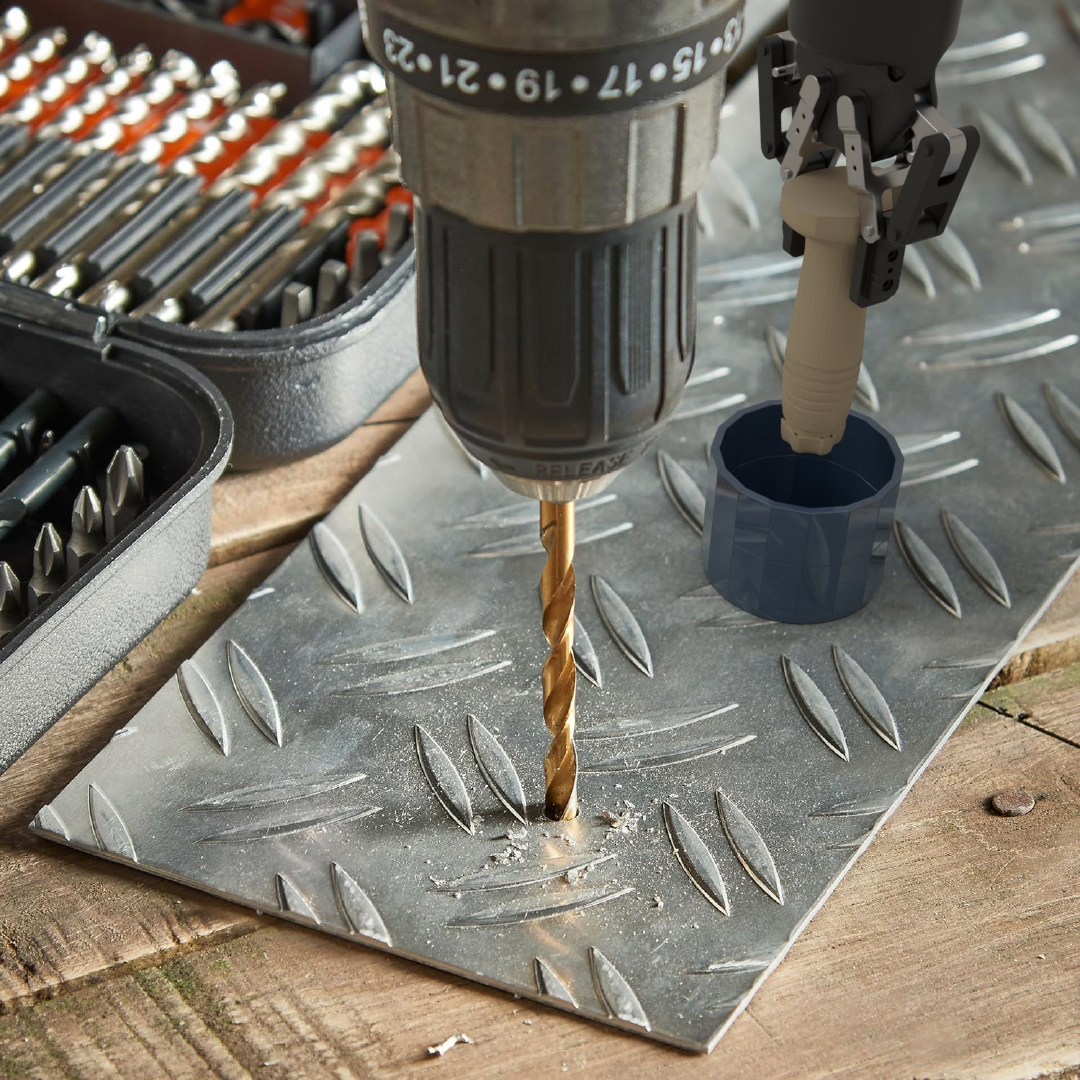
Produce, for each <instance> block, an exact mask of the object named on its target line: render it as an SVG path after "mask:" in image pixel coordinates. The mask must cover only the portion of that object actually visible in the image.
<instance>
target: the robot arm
mask: <svg viewBox="0 0 1080 1080" xmlns="http://www.w3.org/2000/svg"><path fill="white" fill-rule="evenodd" d="M788 2H789V3H788V11H787V27H788V30H786V31H782V32H781V31H780V32H777V33H774V34H771V35H766V36H763V37H760V38H759V39H758V41H757V44H756V60H757V61H756V62H757V83H758V108H759V109H758V110H759V111H758V112H759V134H760V135H759V136H760V137H759V138H760V149H761V153H762V155H763V157H764V158H765V159H766V160H768V161H769V160H774V159H775V160H776V161H777V162H778V163H779V165H780V168H779V174H780V178H781V181H782V183H784V185H785V184H786V183H788V182H789V181H791V180H793V179H794V178H796V177H798V176H800V175H802V174H804V173H807V172H811V171H815V170H820V169H825V168H830V167H837V164H838V161H839V159H840V157H841V155H843V156H844V158H845V166H846V167H847V179H848V187H849V189H850V190H851V191H852V192H854V193H856V194H857V196H858V203H859V215H860V226H861V233H862V235H861V236H858V241H857V247H856V254H855V261H854V267H853V274H852V280H851V287H850V293H849V299H850V300H851V301H852V302H853V303H855V304H856V305H857V306H859V307H860V308H866V307H867V308H868V307H869V308H870V307H872V306H875V305H878V304H881V303H885V302H887V301H888V300H890V299H891V298H892V297H893V296H895V295H896V293H897V292H898V290H899V288H900V281H901V276H902V270H903V264H904V259H905V254H906V248H907V246H909V245H912V244H913V245H914V244H915V243H920V242H922V241H925V240H929V239H932V238H936V237H939V236H942V235H943V234H944V232H945V230H946V229H947V226H948V223H949V220H950V218H951V216H952V213H953V211H954V209H955V206H956V205H957V201H958V199H959V197H960V194H961V192H962V189H963V187H964V185H965V183H966V179H967V178H968V175H969V173H970V170H971V168H972V165H973V163H974V161H975V158H976V156H977V153H978V151H979V149H980V146H981V135H980V133H979V130H978V129H977V128H976V127H975V126H974V125H972V124H968V125H967V124H966V125H963V126H959V127H955V126H954V125H953V124H952V123H950V122H949V120H947V119H946V118H945V117H944V116H943V114H941V113H940V112H939V110H938V104H939V96H938V90H937V83H936V82H937V81H936V71H937V67H938V65H939V63H940V62H941V60H942V58H943V57H944V56H945V54H946V53H947V51H948V50H949V49H950V47H951V46H952V45H953V43H954V42H955V41H956V39H957V35H958V32H959V25H960V20H961V14H962V9H963V3H964V0H789V1H788ZM789 108H791V121H790V124H789V127H788V129H787V130H784V131H782V129H783V127H782V113H783V112H784V110H785V109H789ZM894 157H895V160H894V162H893V163H892V164H891V165H890V166H888V167H882V168H883V169H879V170H876V171H873V170H872V166H873V165H872V164H873V163H877V162H881V161H885V160H889V159H892V158H894ZM890 188H891V190H892V203H893V210H892V211H889V212H885V213H883V202H882V195H883V192H884V191H885V190H887V189H890ZM781 230H782V245H781V246H782V250H783V251H784V252H786V253H787V254H788V255H789V256H791V257H792V258H799V257H804V252H805V240H806V237H804V236H803V235H801V234H799V233H798V232H796V231H795V230H794V229H792V228H791V227H790V226H789V225H788V224H787V223H786V222H785V221H784V220H783V219H782V225H781Z"/></svg>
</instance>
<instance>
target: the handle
mask: <svg viewBox="0 0 1080 1080" xmlns="http://www.w3.org/2000/svg"><path fill="white" fill-rule="evenodd" d="M883 168H884V167H881V166H880V167H879V166H873V165H872V170H873V171H876V170H879V169H883ZM882 202H883V213H885V212H889V211H892V210H893V203H892V190H891V188H890V189H887V190H885V191H884V192H883V195H882ZM779 212H780V213H779V214H780V216H781V219H782V221H783V220H784V221H785V222H786V223H787V224H788V225H789V226H790V227H791V228H792V229H794V230H795V231H796V232H798V233H799V234H801V235H803V236H804V237H806V240H805V252H804V255H803V256H802V257H803V258H802V262H801V269H800V273H799V279H798V284H797V289H796V294H795V300H794V304H793V308H792V309H793V310H792V314H791V319H790V324H789V329H788V333H787V338H786V344H785V349H784V360H783V365H782V382H781V399H782V408H783V415H784V417H785V418H781V434H782V438H783V440H784V441H787V442H788V443H789V444H790V445H791V446H792V450H793V451H795V452H797V453H804V452H807V453H815V454H818V455H825V454H827V453H829V452H830V451H831V449H832V446H833V445H834V444H836V443H839V442H840V441H841V438H842V436H843V433H844V430H845V426H846V422H845V421H846V419H847V416H848V413H849V411H850V409H851V407H852V404H853V401H854V398H855V393H856V389H857V385H858V381H859V377H860V372H861V365H862V359H863V354H864V353H863V352H864V342H865V332H866V322H867V309H868V307H866V308H860V307H859V306H857V305H856V304H855V303H853V302H852V301H851V300H850V299H849V293H850V287H851V280H852V274H853V267H854V261H855V254H856V247H857V241H858V236H861V235H862V233H861V226H860V215H859V203H858V196H857V194H856V193H854V192H852V191H851V190H850V189H849V187H848V179H847V167H846V165H838V166H837V165H836V166H835V167H830V168H825V169H820V170H815V171H811V172H807V173H804V174H802V175H800V176H798V177H796V178H794V179H793V180H791V181H789V182H788V183H786V184H785V183H784V184H783V185H782V186H781V193H780V203H779Z"/></svg>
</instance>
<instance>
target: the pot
mask: <svg viewBox="0 0 1080 1080" xmlns="http://www.w3.org/2000/svg"><path fill="white" fill-rule="evenodd" d="M781 418H785V417H784V415H783V408H782V398H779V399H767V400H764V401H761V402H758V403H756V404H753V405H750V406H747V407H742V408H740V409H738V410H737V411H735V412H734V413H733V414H732V415H731V416H729V417H728V418H727V419H726V420H724V421H723V422H722V423H720V424H719V425H718V426H717V429H716V431H715V434H714V437H713V439H712V442H711V445H710V450H709V461H708V462H709V463H708V471H707V482H706V493H705V502H704V503H705V504H704V514H703V523H702V524H703V525H702V534H701V535H702V536H701V546H700V553H701V561H702V569H703V571H704V573H705V576H706V578H707V579H708V581H709V583H710V584H711V586H712V587H713V588H714V590H716V592H717V593H719V595H721V597H723V599H725V600H726V601H728V602H729V603H731V604H732V605H733V606H735V607H736V608H738V609H741V610H742V611H745V612H747V613H749V614H751V615H754V616H756V617H760V618H762V619H765V620H770V621H774V622H779V623H787V624H797V625H798V624H799V625H808V624H809V625H810V624H819V623H820V624H821V623H826V622H831V621H832V622H833V621H836V620H839V619H842V618H845V617H847V616H849V615H851V614H853V613H856V612H857V611H859V610H860V609H862V608H864V607H865V606H866V605H867V604H868V603H869V602H871V600H872V599H873V598H874V596H875V595H876V593H877V591H878V590H879V588H880V587H881V586H880V585H881V583H882V578H883V574H884V569H885V562H886V558H887V554H888V547H889V543H890V539H891V533H892V528H893V522H894V519H895V514H896V513H895V512H896V509H897V502H898V498H899V497H898V496H899V492H900V487H901V481H902V476H903V472H904V466H905V462H906V460H905V457H904V455H903V452H902V450H901V447H900V446H899V444H898V442H897V440H896V437H895V436H894V435H893V434H892V433H891V432H889V431H888V430H887V429H886V428H885V427H883V426H882V425H881V424H880V423H878V422H877V421H876V420H875V419H873V418H872V417H871V416H869V415H866V414H863V413H862V412H860V411H857V410H855V409H852V408H850V411H849V413H848V416H847V419H846V421H845V422H846V426H845V430H844V433H843V436H842V438H841V441H840V442H839V443H836V444H834V445H833V446H832V449H831V451H830V452H829V453H827V454H825V455H818V454H815V453H807V452H804V453H797V452H795V451H793V450H792V446H791V445H790V444H789V443H788V442H787V441H784V440H783V438H782V434H781Z"/></svg>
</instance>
